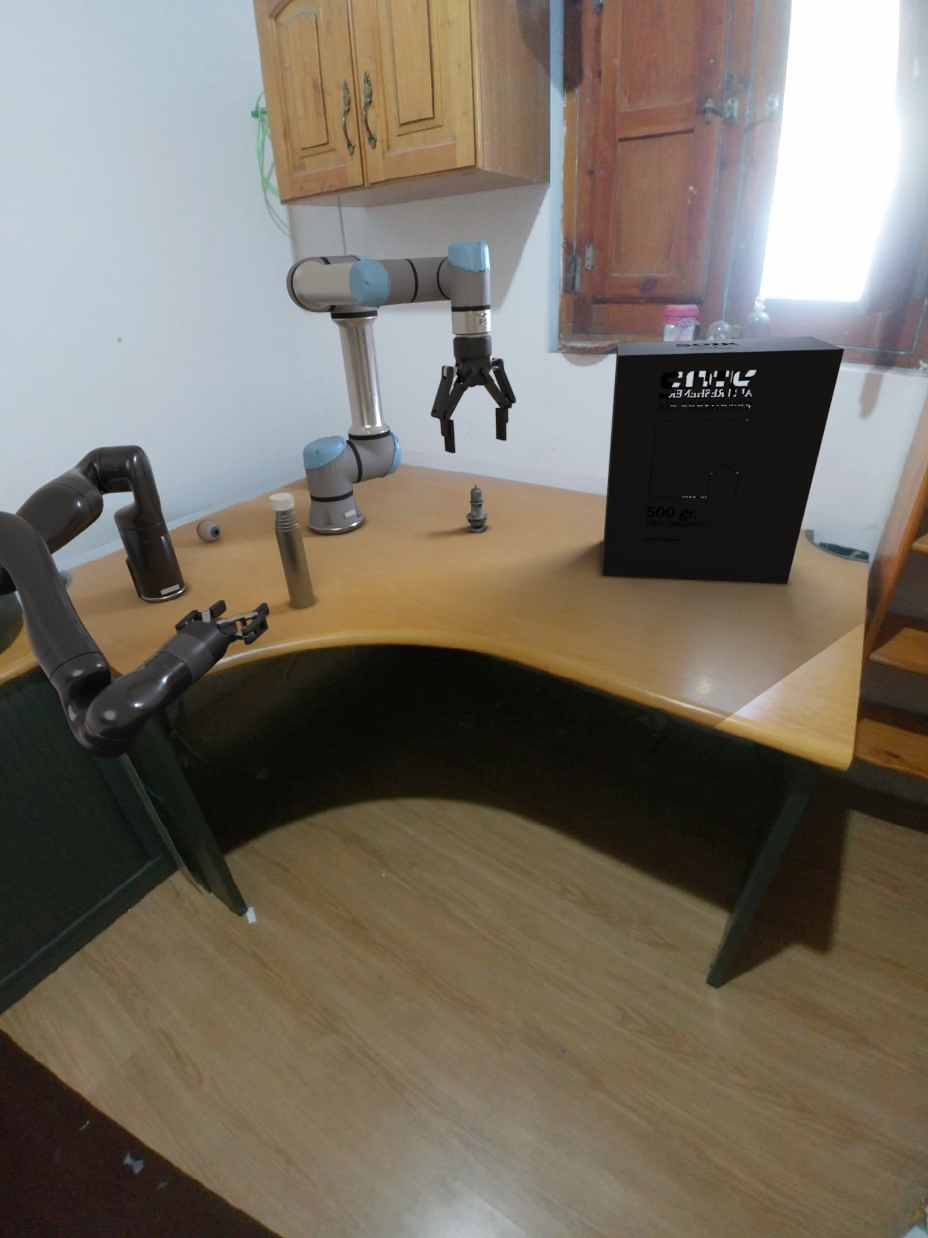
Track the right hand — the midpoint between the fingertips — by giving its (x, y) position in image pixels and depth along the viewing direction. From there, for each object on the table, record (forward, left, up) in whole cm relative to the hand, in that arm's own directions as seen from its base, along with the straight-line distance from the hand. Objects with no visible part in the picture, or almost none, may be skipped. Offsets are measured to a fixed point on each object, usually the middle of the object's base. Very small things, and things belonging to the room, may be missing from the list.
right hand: (476, 445), depth 127 cm
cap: (-12, -40, -4) cm, 42 cm away
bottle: (-12, -40, -28) cm, 50 cm away
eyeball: (-62, -44, -28) cm, 81 cm away
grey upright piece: (-19, +14, -28) cm, 37 cm away
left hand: (+2, -55, -18) cm, 58 cm away
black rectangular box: (+30, +37, -28) cm, 55 cm away
